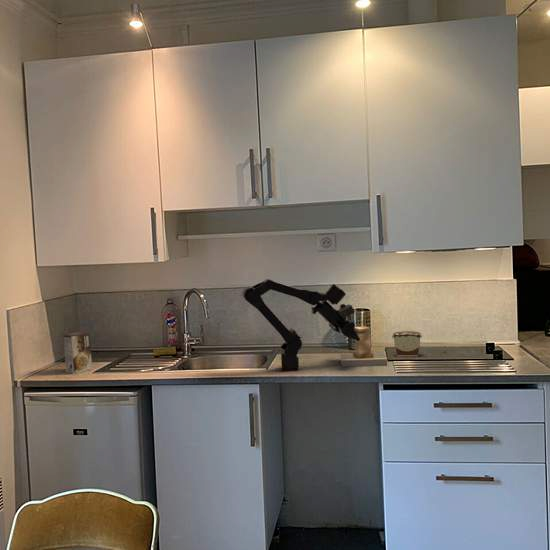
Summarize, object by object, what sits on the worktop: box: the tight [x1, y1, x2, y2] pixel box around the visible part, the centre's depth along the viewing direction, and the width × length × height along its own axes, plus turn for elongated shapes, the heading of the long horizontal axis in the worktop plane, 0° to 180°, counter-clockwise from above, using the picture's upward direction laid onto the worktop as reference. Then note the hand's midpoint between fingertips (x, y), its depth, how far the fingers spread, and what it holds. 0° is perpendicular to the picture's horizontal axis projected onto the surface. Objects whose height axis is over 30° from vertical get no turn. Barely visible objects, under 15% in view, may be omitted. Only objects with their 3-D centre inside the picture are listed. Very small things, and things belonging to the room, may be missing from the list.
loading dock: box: [339, 352, 388, 368], centre depth 250 cm, size 18×13×3 cm
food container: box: [391, 330, 422, 355], centre depth 261 cm, size 12×6×10 cm, turn 74°
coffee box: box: [62, 331, 93, 375], centre depth 258 cm, size 9×6×16 cm
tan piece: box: [352, 325, 374, 359], centre depth 250 cm, size 6×7×12 cm
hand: (355, 338), depth 249 cm, fingers open, 9 cm apart
